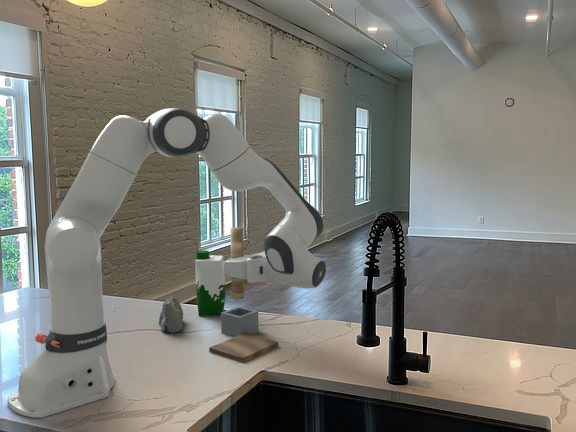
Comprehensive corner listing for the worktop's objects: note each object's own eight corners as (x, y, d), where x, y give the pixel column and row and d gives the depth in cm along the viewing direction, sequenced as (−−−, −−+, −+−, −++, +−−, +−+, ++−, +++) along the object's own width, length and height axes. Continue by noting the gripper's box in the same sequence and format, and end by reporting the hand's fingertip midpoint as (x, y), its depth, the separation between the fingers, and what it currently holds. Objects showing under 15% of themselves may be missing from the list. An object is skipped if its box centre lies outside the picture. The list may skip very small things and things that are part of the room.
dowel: (238, 300, 161) (237, 229, 158) (228, 297, 163) (227, 228, 160) (246, 297, 164) (246, 228, 161) (237, 295, 166) (236, 227, 163)
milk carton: (200, 308, 188) (197, 248, 185) (227, 308, 188) (225, 248, 185) (195, 317, 179) (192, 254, 176) (223, 316, 179) (221, 254, 176)
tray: (242, 362, 143) (242, 357, 143) (209, 351, 150) (209, 347, 150) (278, 346, 154) (278, 341, 153) (245, 336, 161) (245, 332, 161)
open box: (240, 338, 160) (240, 317, 159) (221, 333, 164) (220, 312, 164) (258, 331, 166) (258, 310, 165) (239, 325, 170) (239, 306, 169)
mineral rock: (173, 317, 179) (172, 286, 178) (202, 322, 174) (201, 290, 173) (146, 330, 168) (144, 297, 166) (176, 335, 163) (174, 301, 162)
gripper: (296, 248, 162) (259, 243, 170) (246, 260, 146) (209, 253, 154) (296, 270, 162) (259, 264, 171) (247, 284, 147) (209, 276, 155)
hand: (235, 259), depth 162 cm, fingers closed on dowel, 4 cm apart
